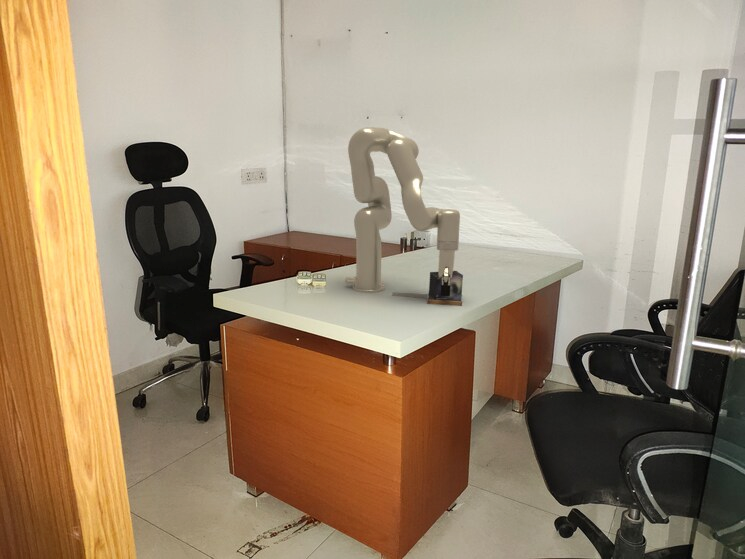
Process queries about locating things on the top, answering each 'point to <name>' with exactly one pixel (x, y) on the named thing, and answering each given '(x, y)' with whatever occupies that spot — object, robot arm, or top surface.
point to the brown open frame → (444, 302)
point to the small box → (454, 287)
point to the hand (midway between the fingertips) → (445, 292)
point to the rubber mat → (410, 295)
